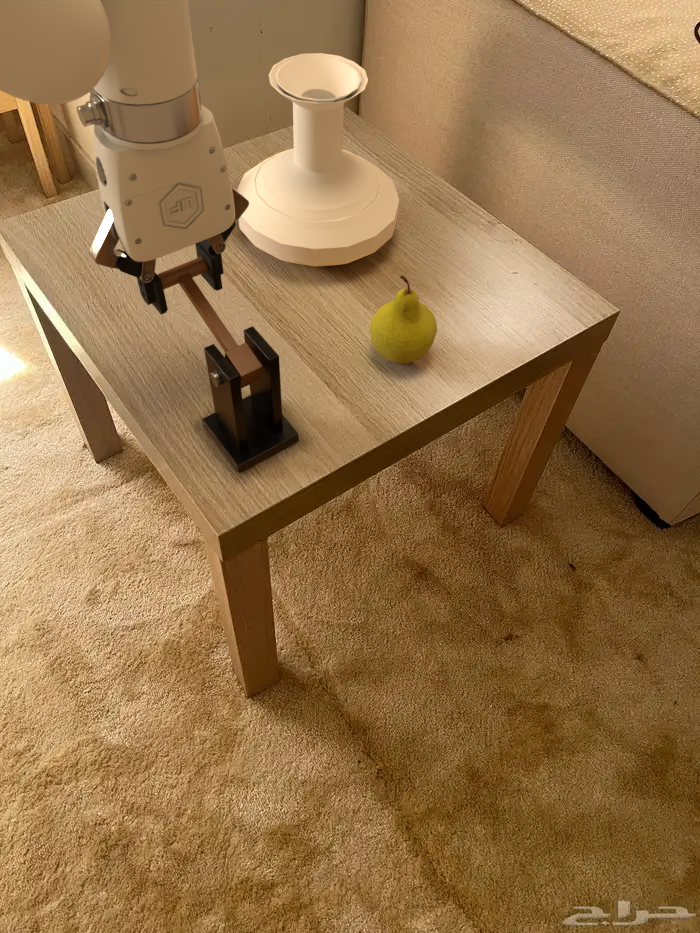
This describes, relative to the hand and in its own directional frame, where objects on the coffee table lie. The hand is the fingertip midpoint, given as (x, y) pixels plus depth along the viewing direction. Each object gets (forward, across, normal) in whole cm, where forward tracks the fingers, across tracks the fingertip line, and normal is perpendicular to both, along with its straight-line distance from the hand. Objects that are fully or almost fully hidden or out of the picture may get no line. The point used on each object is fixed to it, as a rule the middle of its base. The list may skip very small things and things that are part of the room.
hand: (184, 291), depth 66 cm
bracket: (+11, 0, -10) cm, 15 cm away
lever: (+1, 0, -5) cm, 5 cm away
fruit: (+11, +20, -10) cm, 25 cm away
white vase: (+11, +24, +12) cm, 29 cm away
